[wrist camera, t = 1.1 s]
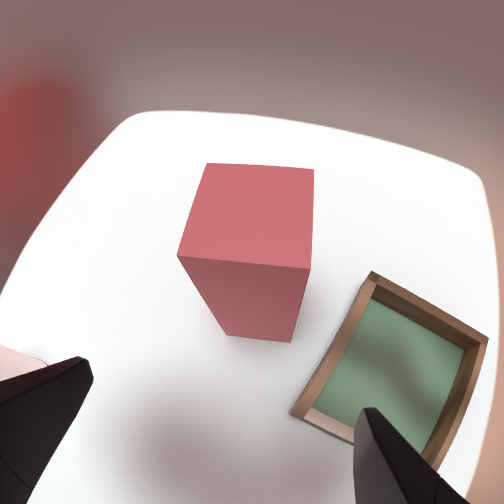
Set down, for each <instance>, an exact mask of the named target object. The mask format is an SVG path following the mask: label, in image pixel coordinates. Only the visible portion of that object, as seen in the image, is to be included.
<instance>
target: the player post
mask: <svg viewBox="0 0 504 504" xmlns="http://www.w3.org/2000/svg"><path fill="white" fill-rule="evenodd" d="M313 195H314V169H304V168H293V167H280V166H265V165H246V164H219V163H207V164H206V167H205V170H204V172H203V175H202V178H201V181H200V184H199V187H198V190H197V192H196V195H195V198H194V201H193V204H192V207H191V210H190V213H189V217H188V220H187V223H186V226H185V229H184V232H183V236H182V239H181V242H180V245H179V249H178V252H177V257H178V259H179V260H180V262H181V264H182V265H183V267H184V269H185V270H186V272H187V274H188V275H189V277H190V279H191V280H192V282H193V283H194V285H195V287H196V288H197V290H198V291H199V293H200V295H201V296H202V298H203V299H204V301H205V303H206V304H207V306H208V307H209V309H210V310H211V312H212V313H213V315H214V317H215V318H216V320H217V321H218V323H219V324H220V326H221V327H222V329H223V330H224V332H225V333H226V335H232V336H239V337H246V338H254V339H262V340H271V341H280V342H290V341H291V338H292V334H293V331H294V327H295V324H296V321H297V317H298V314H299V310H300V306H301V303H302V299H303V296H304V292H305V288H306V284H307V281H308V277H309V273H310V269H311V252H312V229H313Z"/></svg>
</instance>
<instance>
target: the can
mask: <svg viewBox="0 0 504 504" xmlns="http://www.w3.org/2000/svg"><path fill="white" fill-rule="evenodd" d="M44 367H47V365H46V364H45V363H44V362H43V361H41V360H38V359H36V358H33V357H30V356H28V355H25V354H22V353H20V352H17V351H15V350H12V349H10V348H7V347H5V346H2V345H0V381H2V380H5V379H9V378H12V377H15V376H18V375H22V374H25V373H28V372H31V371H34V370H37V369H40V368H44Z"/></svg>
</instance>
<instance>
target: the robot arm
mask: <svg viewBox="0 0 504 504" xmlns="http://www.w3.org/2000/svg"><path fill="white" fill-rule="evenodd" d="M93 379H94V378H93V374H92V371H91V367H90V364H89V361H88V360H87V359H85V358H82V357H79V356H77V357H73V358H71V359H68V360H65V361H62V362H59V363H56V364H53V365H50V366H47V367H44V368H40V369H37V370H34V371H31V372H28V373H25V374H22V375H18V376H15V377H12V378H9V379H5V380H2V381H0V504H26V503H27V501H28V500H29V498H30V496H31V494H32V491H33V490H34V488H35V486H36V484H37V482H38V480H39V479H40V477H41V475H42V473H43V471H44V470H45V468H46V466H47V464H48V463H49V461H50V459H51V457H52V456H53V454H54V452H55V450H56V449H57V447H58V445H59V444H60V442H61V440H62V439H63V437H64V435H65V434H66V432H67V430H68V429H69V427H70V426H71V424H72V422H73V421H74V419H75V417H76V416H77V414H78V412H79V410H80V408H81V406H82V404H83V402H84V400H85V398H86V396H87V394H88V392H89V390H90V388H91V386H92V384H93ZM353 476H354V487H355V500H356V504H470V503H469V502H468V501H466V500H465V499H464V498H463V497H462V496H460V495H459V494H458V493H457V492H456V491H455V490H454V489H453V488H452V487H451V486H450V485H449V484H448V483H447V482H446V481H445V480H444V479H443V478H442V477H441V478H440V475H439V474H438V473H437V472H436V471H435V470H434V469H433V468H432V467H431V466H430V464H429V463H428V462H427V461H426V460H425V459H424V458H423V457H422V456H421V455H420V454H419V453H418V452H417V451H416V450H415V449H414V448H413V446H412V445H411V444H410V443H409V442H408V441H407V440H406V439H405V438H404V437H403V436H402V435H401V434H400V433H399V431H398V430H397V429H396V428H395V427H394V426H393V425H392V424H391V423H390V422H389V421H388V420H387V419H386V418H385V416H384V415H383V414H382V413H381V412H380V411H379V410H378V409H377V408H375V407H364V408H362V410H361V412H360V414H359V416H358V419H357V421H356V423H355V426H354V457H353Z"/></svg>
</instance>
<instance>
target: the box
mask: <svg viewBox="0 0 504 504" xmlns="http://www.w3.org/2000/svg"><path fill="white" fill-rule="evenodd" d="M488 339H489V338H488V337H486V336H485V335H483V334H482V333H480V332H478V331H477V330H475V329H473V328H472V327H470V326H468V325H467V324H465V323H463V322H462V321H460V320H458V319H457V318H455V317H453V316H452V315H450V314H448V313H446V312H445V311H443V310H441V309H439V308H438V307H436V306H434V305H433V304H431V303H429V302H427V301H426V300H424V299H422V298H420V297H418V296H417V295H415V294H413V293H411V292H410V291H408V290H406V289H404V288H402V287H401V286H399V285H397V284H395V283H393V282H391V281H390V280H388V279H386V278H384V277H382V276H380V275H379V274H377V273H375V272H373V271H371V272H370V274H369V275H368V277H367V278H366V280H365V281H364V283H363V284H362V286H361V287H360V290H359V292H358V294H357V296H356V298H355V300H354V302H353V304H352V306H351V308H350V310H349V312H348V314H347V316H346V317H345V319H344V321H343V323H342V325H341V327H340V329H339V331H338V332H337V334H336V336H335V338H334V340H333V342H332V343H331V345H330V347H329V349H328V350H327V352H326V354H325V356H324V357H323V359H322V361H321V363H320V364H319V366H318V368H317V369H316V371H315V373H314V374H313V376H312V378H311V379H310V381H309V382H308V384H307V386H306V387H305V389H304V390H303V392H302V394H301V395H300V397H299V398H298V400H297V401H296V403H295V404H294V406H293V407H292V409H291V410H290V412H289V414H291V415H292V416H294V417H296V418H298V419H300V420H301V421H304V422H306V423H308V424H310V425H312V426H314V427H316V428H318V429H320V430H322V431H324V432H326V433H328V434H330V435H332V436H334V437H336V438H338V439H340V440H342V441H344V442H347V443H349V444H351V445H353V446H354V426H355V423H356V421H357V419H358V416H359V414H360V412H361V410H362V408H364V407H375V408H377V409H378V410H379V411H380V412H381V413H382V414H383V415H384V416H385V418H386V419H387V420H388V421H389V422H390V423H391V424H392V425H393V426H394V427H395V428H396V429H397V430H398V431H399V433H400V434H401V435H402V436H403V437H404V438H405V439H406V440H407V441H408V442H409V443H410V444H411V445H412V446H413V448H414V449H415V450H416V451H417V452H418V453H419V454H420V455H421V456H422V457H423V458H424V459H425V460H426V461H427V462H428V463H429V464H430V466H431V467H432V468H433V469H434V470H435V471H436V472H437V470H438V469H439V467H440V465H441V463H442V461H443V460H444V458H445V456H446V454H447V452H448V450H449V448H450V446H451V444H452V442H453V440H454V438H455V436H456V433H457V431H458V429H459V427H460V424H461V422H462V420H463V417H464V415H465V412H466V410H467V407H468V405H469V402H470V399H471V397H472V394H473V391H474V388H475V385H476V382H477V379H478V376H479V373H480V369H481V366H482V362H483V359H484V355H485V351H486V347H487V343H488Z"/></svg>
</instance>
